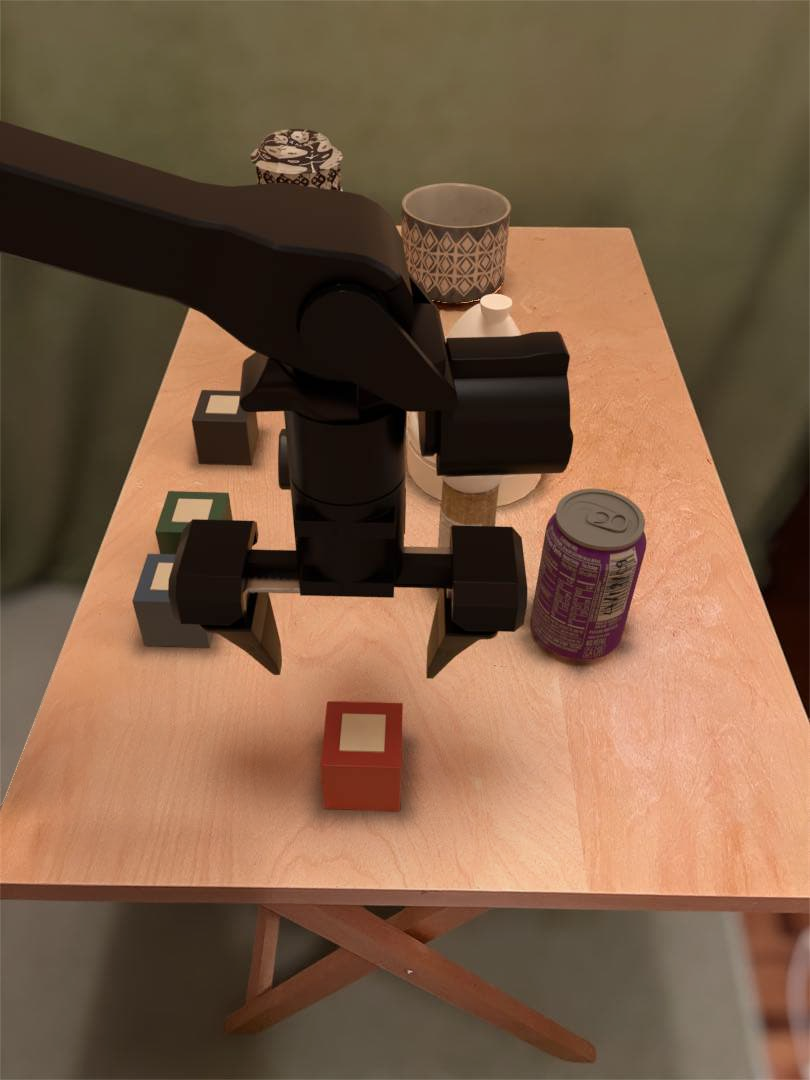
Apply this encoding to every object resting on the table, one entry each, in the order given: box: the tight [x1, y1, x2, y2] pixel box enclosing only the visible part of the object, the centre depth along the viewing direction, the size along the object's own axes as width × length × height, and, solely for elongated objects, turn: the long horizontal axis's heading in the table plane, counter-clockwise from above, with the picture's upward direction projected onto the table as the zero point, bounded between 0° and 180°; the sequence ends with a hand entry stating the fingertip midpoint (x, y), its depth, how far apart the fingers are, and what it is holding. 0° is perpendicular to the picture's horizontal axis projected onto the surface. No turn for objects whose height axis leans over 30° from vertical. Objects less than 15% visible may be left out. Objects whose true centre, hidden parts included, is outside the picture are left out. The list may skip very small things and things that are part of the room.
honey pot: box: [406, 293, 542, 507], centre depth 81 cm, size 13×13×18 cm
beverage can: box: [530, 488, 647, 661], centre depth 67 cm, size 7×7×12 cm
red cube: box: [320, 700, 404, 812], centre depth 60 cm, size 5×5×5 cm
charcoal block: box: [191, 389, 260, 466], centre depth 86 cm, size 5×5×5 cm
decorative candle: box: [250, 128, 344, 191], centre depth 88 cm, size 9×9×25 cm
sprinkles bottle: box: [437, 475, 503, 590], centre depth 70 cm, size 5×5×13 cm
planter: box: [400, 182, 512, 304], centre depth 109 cm, size 13×13×10 cm
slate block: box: [132, 553, 214, 649], centre depth 70 cm, size 5×5×5 cm
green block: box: [154, 490, 233, 554], centre depth 75 cm, size 5×5×5 cm
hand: (353, 670), depth 55 cm, fingers open, 9 cm apart
